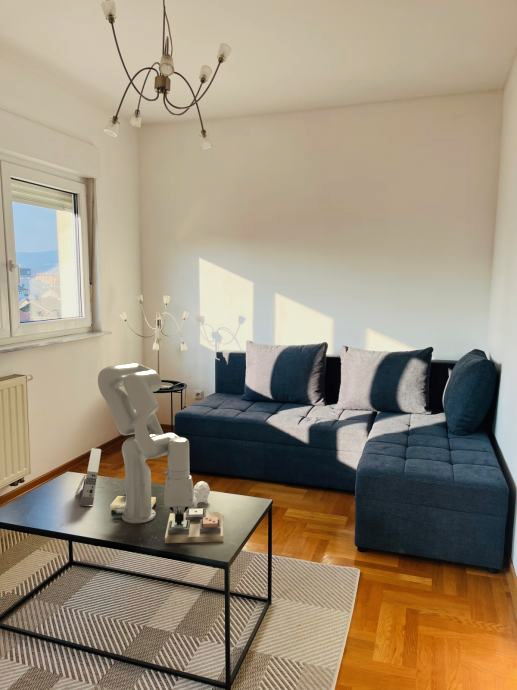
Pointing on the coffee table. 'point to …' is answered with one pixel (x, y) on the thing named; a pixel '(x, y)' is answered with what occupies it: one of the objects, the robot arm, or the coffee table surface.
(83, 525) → the coffee table surface
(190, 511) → the tile cream
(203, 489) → the white statuette
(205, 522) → the tile terracotta
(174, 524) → the tile sage
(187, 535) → the tile board
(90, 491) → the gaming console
